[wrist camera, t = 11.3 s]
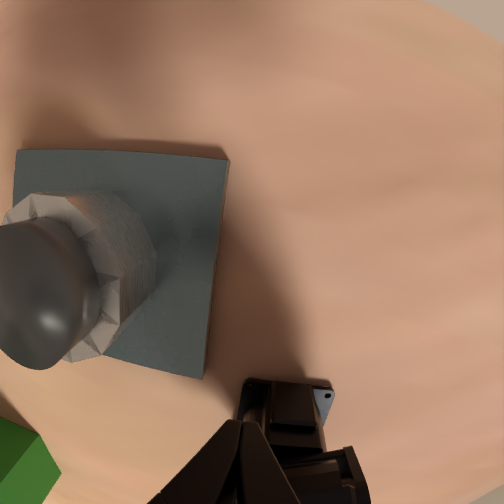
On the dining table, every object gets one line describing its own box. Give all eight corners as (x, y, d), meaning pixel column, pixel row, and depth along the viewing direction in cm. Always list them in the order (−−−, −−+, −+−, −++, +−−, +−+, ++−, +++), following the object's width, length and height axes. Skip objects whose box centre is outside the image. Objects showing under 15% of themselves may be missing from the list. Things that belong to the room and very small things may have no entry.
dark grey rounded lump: (122, 336, 17) (75, 388, 11) (36, 310, 17) (-18, 344, 12) (125, 218, 15) (62, 237, 10) (32, 206, 15) (-34, 219, 10)
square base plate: (204, 371, 21) (185, 428, 15) (27, 320, 21) (-17, 350, 15) (230, 161, 18) (210, 151, 12) (25, 150, 18) (-32, 148, 12)
